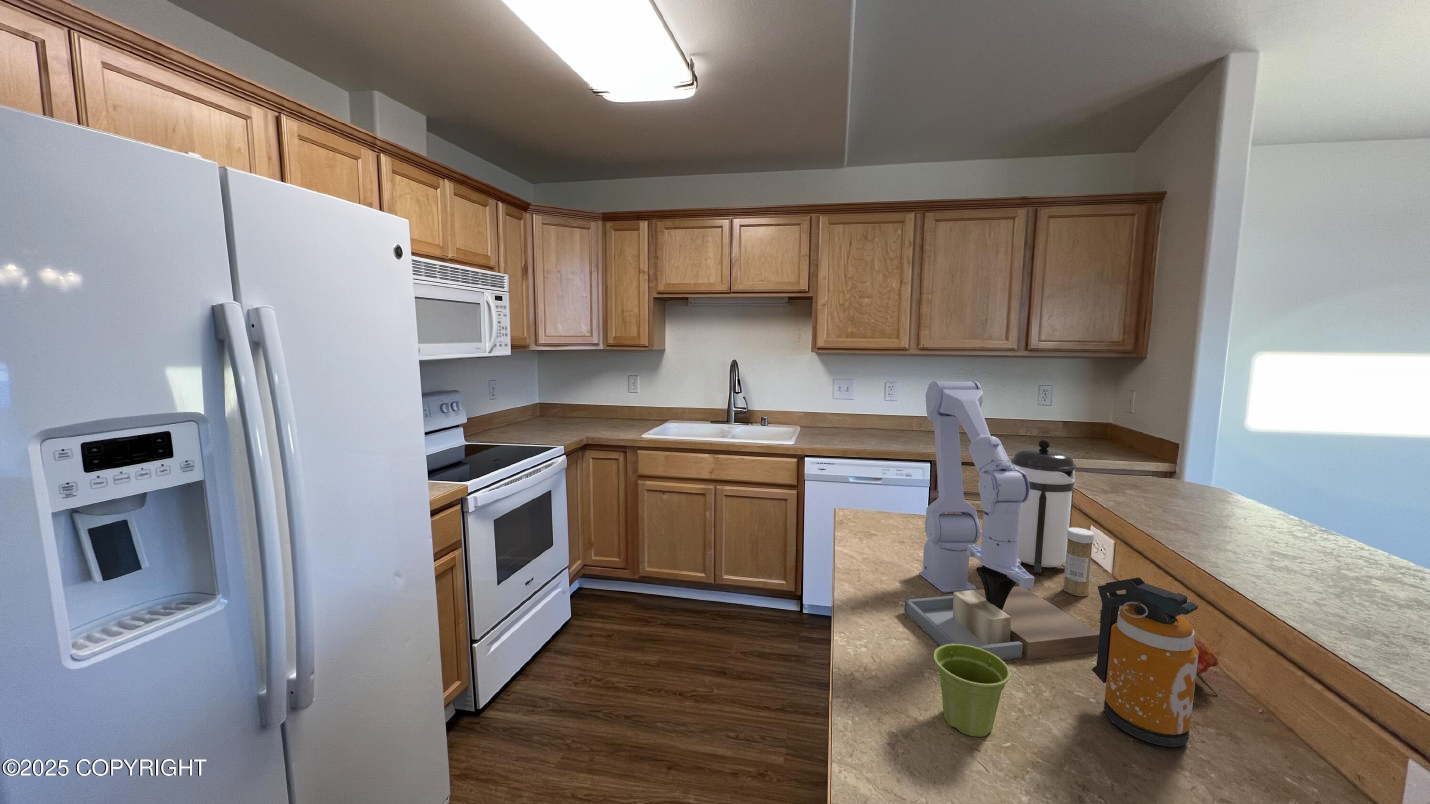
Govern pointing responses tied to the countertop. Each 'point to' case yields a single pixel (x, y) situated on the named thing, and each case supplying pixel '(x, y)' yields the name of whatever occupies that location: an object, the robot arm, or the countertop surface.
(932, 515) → the robot arm
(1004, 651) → the box
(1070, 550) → the sprinkles bottle
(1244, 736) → the countertop surface
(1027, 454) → the coffee press
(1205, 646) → the pomegranate
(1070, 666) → the countertop surface
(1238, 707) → the countertop surface
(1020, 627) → the walnut plate
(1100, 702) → the countertop surface
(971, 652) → the plant pot
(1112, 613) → the canister
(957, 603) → the cream rectangular box
